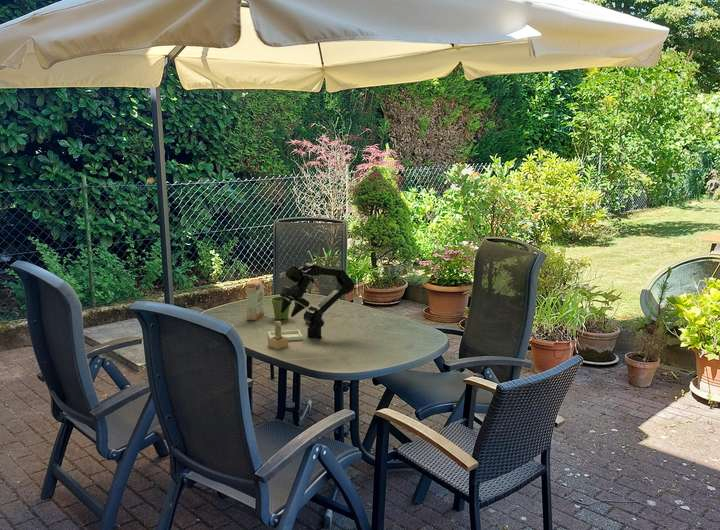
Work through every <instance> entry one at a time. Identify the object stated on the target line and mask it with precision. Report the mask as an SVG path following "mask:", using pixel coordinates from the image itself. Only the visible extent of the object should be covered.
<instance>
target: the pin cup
mask: <svg viewBox="0 0 720 530" xmlns="http://www.w3.org/2000/svg"><path fill="white" fill-rule="evenodd" d="M267 346H268V347H269V348H272V349H275V350H279V349H283V348H286V347H289V341H288V338H287V337H284V336H281V339H280V340H276V339H275V336H274V337H270V338H269V337H267Z"/></svg>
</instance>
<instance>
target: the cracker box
mask: <svg viewBox="0 0 720 530" xmlns="http://www.w3.org/2000/svg"><path fill="white" fill-rule="evenodd" d="M246 312H247V313H246V315H247V316H246V319H247V320H248V321H257V320H258V319H260V318H262V316H264V315H265V280H264V279H261V278H260V279H259V278H255V279H253V280H251V281H249V282H248V283H246ZM263 314H264V315H263Z"/></svg>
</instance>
